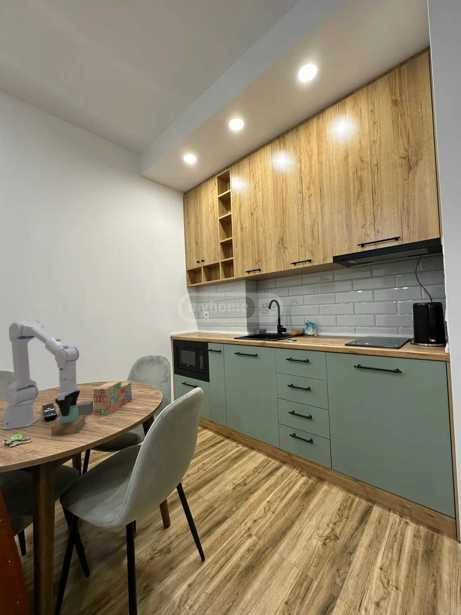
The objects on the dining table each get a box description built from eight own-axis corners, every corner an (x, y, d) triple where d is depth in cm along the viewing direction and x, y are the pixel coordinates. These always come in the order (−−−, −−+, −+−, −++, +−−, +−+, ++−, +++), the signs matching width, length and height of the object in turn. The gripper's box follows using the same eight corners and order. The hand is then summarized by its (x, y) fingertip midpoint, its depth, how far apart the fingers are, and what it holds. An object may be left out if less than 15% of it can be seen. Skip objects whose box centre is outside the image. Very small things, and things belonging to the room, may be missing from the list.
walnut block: (51, 437, 96) (51, 426, 96) (61, 427, 104) (61, 417, 105) (77, 434, 98) (77, 423, 98) (85, 424, 106) (85, 414, 107)
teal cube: (59, 423, 98) (59, 410, 98) (64, 419, 103) (64, 406, 103) (74, 422, 99) (73, 409, 99) (78, 417, 104) (78, 404, 104)
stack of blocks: (121, 399, 136) (120, 376, 137) (131, 399, 135) (131, 376, 136) (94, 415, 115) (93, 388, 115) (106, 415, 114) (105, 388, 115)
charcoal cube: (77, 416, 115) (77, 405, 115) (81, 412, 120) (81, 401, 120) (90, 415, 116) (89, 404, 116) (93, 411, 121) (93, 400, 121)
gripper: (72, 381, 96) (73, 418, 95) (84, 373, 110) (85, 405, 109) (51, 383, 94) (51, 420, 94) (66, 375, 108) (67, 407, 108)
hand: (68, 412), depth 101 cm, fingers open, 6 cm apart
